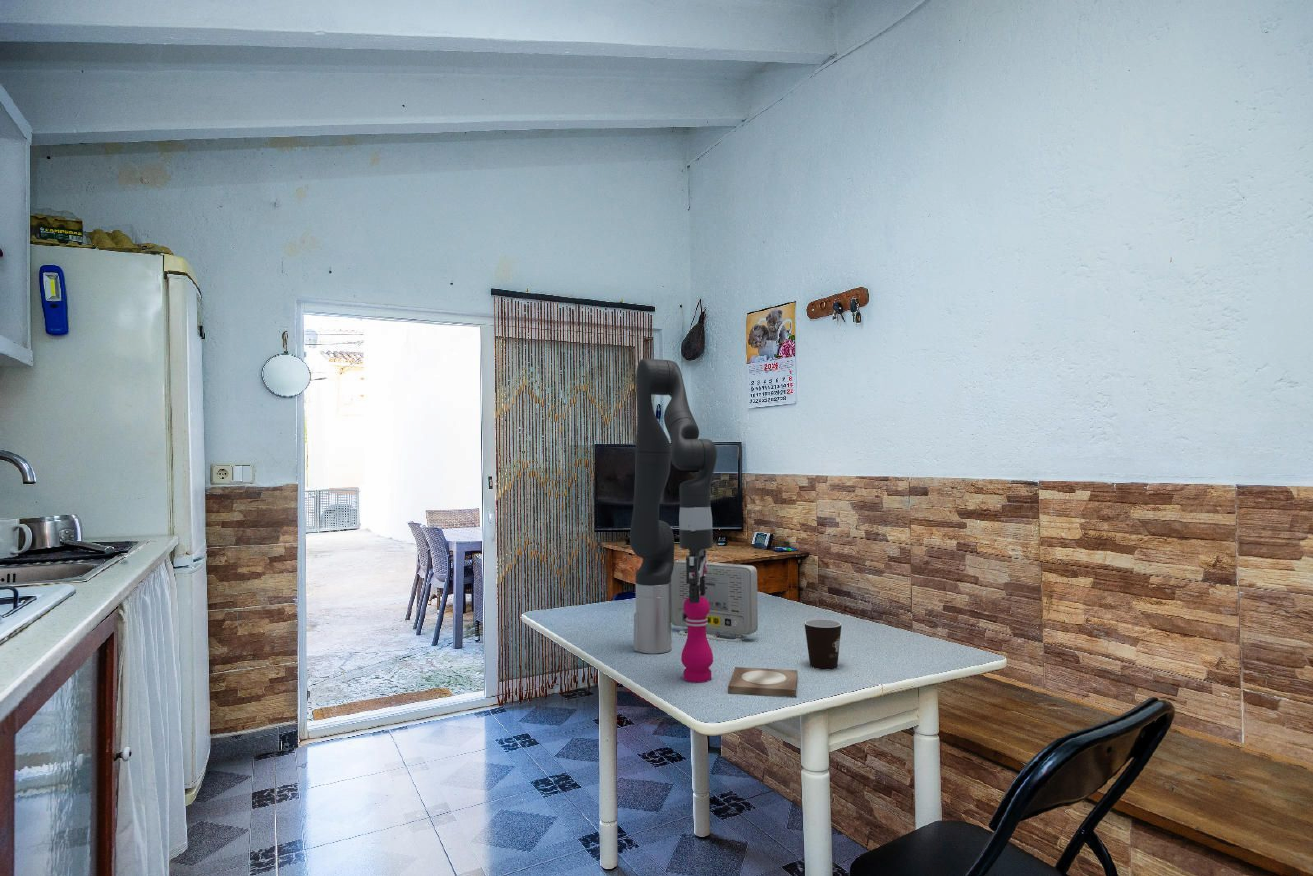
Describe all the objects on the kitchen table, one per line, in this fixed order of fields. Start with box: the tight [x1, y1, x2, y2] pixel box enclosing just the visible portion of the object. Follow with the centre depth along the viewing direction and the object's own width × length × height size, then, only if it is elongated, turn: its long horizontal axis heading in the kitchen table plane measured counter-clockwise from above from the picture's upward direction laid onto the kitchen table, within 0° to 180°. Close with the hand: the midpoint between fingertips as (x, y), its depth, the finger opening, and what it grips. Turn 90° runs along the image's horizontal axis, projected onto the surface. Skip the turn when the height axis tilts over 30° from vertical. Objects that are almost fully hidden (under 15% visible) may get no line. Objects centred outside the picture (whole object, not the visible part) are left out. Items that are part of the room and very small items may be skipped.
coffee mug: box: [804, 618, 843, 670], centre depth 171 cm, size 12×9×10 cm
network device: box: [671, 559, 759, 643], centre depth 200 cm, size 26×9×20 cm, turn 58°
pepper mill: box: [680, 596, 714, 683], centre depth 162 cm, size 7×7×20 cm
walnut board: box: [727, 666, 798, 698], centre depth 156 cm, size 14×14×2 cm
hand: (697, 598), depth 162 cm, fingers open, 8 cm apart
